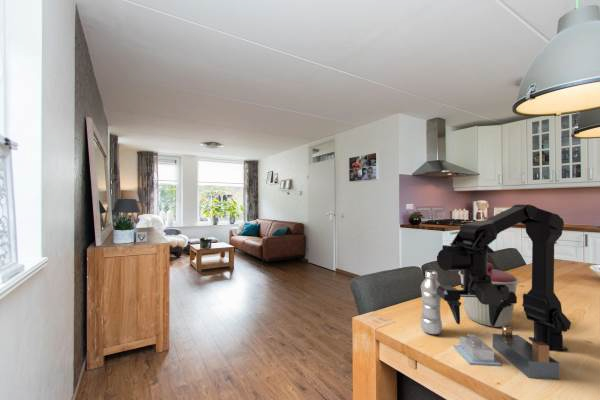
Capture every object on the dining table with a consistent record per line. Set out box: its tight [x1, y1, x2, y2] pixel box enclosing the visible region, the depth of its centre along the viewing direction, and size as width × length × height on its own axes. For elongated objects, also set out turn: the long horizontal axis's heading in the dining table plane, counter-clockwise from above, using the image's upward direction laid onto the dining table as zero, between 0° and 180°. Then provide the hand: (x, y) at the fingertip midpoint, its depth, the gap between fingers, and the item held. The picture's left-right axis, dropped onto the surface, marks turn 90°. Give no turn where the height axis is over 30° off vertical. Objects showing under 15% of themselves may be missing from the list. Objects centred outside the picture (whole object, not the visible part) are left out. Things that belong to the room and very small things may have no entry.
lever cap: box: [459, 333, 495, 362], centre depth 76 cm, size 7×5×4 cm
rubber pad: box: [452, 344, 502, 367], centre depth 76 cm, size 9×8×1 cm
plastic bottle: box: [420, 269, 443, 335], centre depth 89 cm, size 6×7×20 cm
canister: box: [458, 262, 520, 328], centre depth 98 cm, size 18×18×21 cm
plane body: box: [492, 325, 560, 380], centre depth 73 cm, size 14×7×8 cm, turn 175°
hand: (475, 324), depth 76 cm, fingers open, 9 cm apart
